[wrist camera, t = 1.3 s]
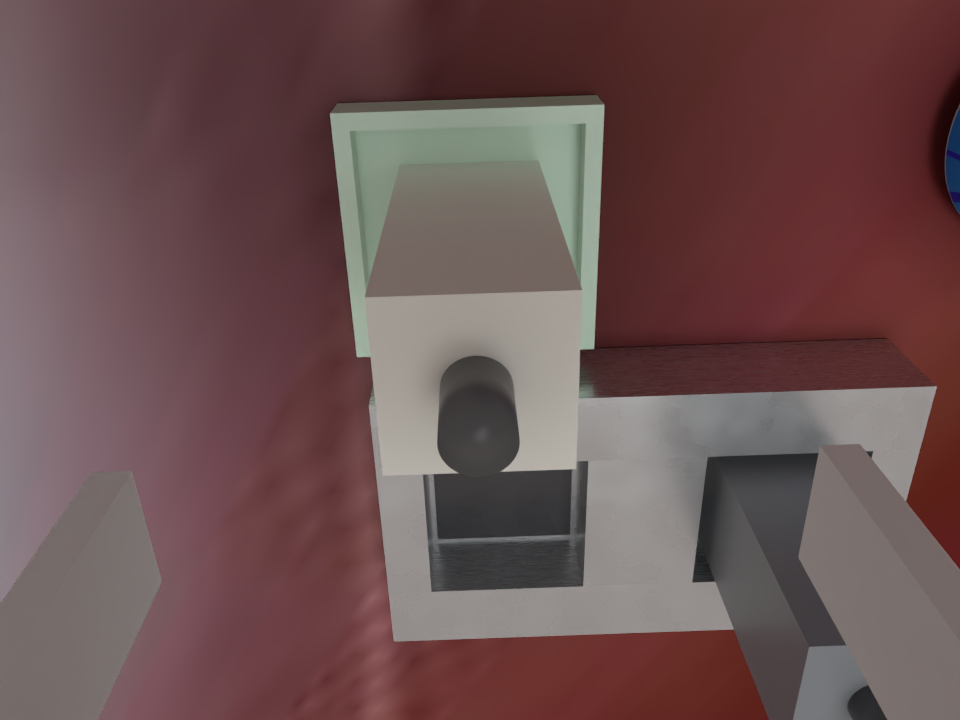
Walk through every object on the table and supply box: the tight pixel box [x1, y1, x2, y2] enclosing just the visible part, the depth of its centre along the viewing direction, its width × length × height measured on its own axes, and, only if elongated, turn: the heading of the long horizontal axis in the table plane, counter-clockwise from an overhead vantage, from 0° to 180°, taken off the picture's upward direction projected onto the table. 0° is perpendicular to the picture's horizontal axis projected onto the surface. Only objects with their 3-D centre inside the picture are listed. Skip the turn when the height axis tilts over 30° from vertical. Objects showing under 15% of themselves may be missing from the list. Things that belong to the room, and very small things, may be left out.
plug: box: [364, 160, 582, 477], centre depth 24 cm, size 5×5×14 cm
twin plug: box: [698, 453, 887, 720], centre depth 29 cm, size 5×5×14 cm
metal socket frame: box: [369, 339, 937, 641], centre depth 35 cm, size 12×21×4 cm, turn 92°
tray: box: [330, 95, 604, 357], centre depth 30 cm, size 9×9×2 cm
